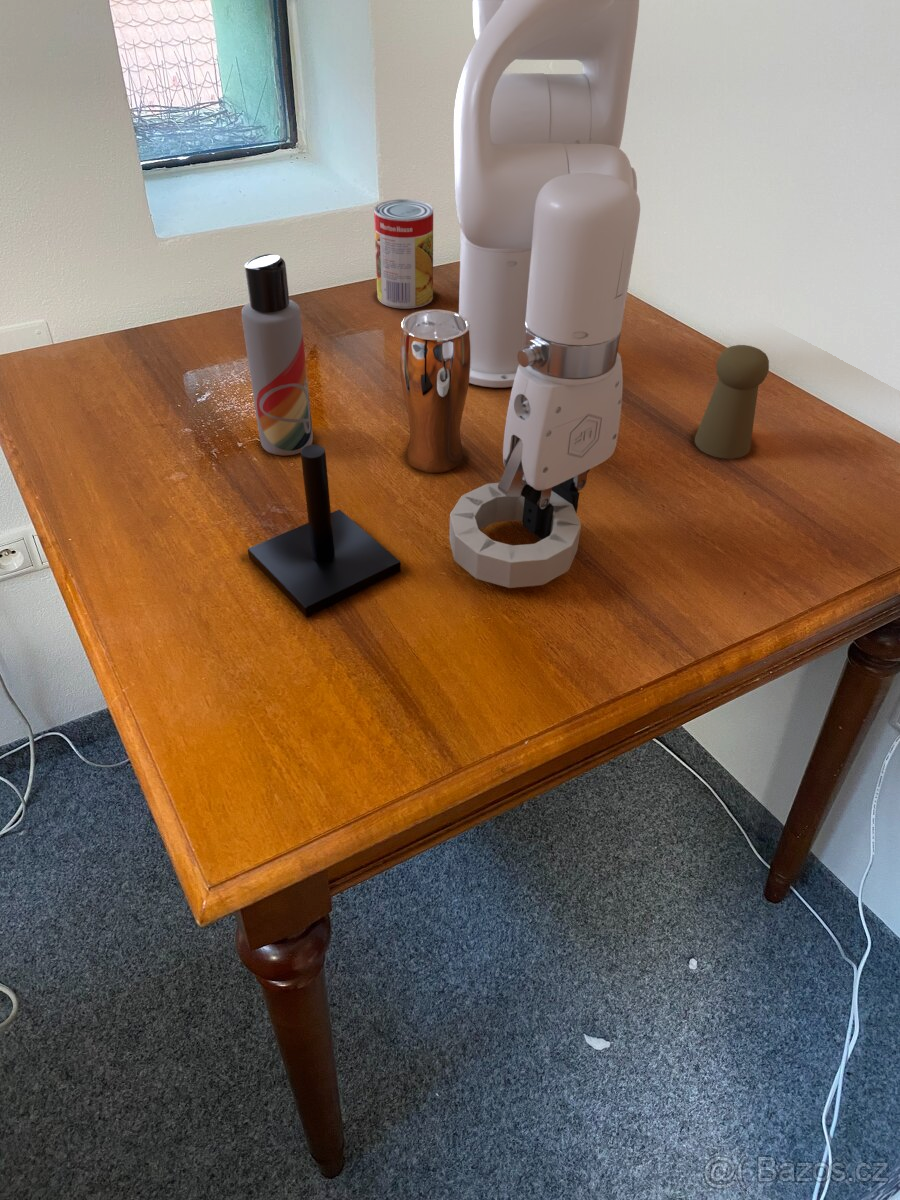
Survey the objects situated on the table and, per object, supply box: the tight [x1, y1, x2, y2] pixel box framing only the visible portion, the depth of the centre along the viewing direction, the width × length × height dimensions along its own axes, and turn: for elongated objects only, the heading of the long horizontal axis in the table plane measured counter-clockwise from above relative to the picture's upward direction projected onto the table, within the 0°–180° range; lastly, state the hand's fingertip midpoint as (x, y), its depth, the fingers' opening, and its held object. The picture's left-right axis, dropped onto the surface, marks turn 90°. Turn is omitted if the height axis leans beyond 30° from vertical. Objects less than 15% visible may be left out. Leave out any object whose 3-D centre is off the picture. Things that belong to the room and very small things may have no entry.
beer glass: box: [399, 309, 471, 474], centre depth 88 cm, size 7×7×15 cm
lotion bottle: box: [241, 253, 314, 457], centre depth 88 cm, size 6×6×20 cm
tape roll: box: [448, 482, 582, 589], centre depth 79 cm, size 11×11×3 cm
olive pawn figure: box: [694, 344, 770, 460], centre depth 93 cm, size 6×6×11 cm
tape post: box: [247, 444, 402, 618], centre depth 76 cm, size 10×10×12 cm
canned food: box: [373, 198, 434, 310], centre depth 120 cm, size 8×8×12 cm
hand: (548, 525), depth 82 cm, fingers closed on tape roll, 2 cm apart
